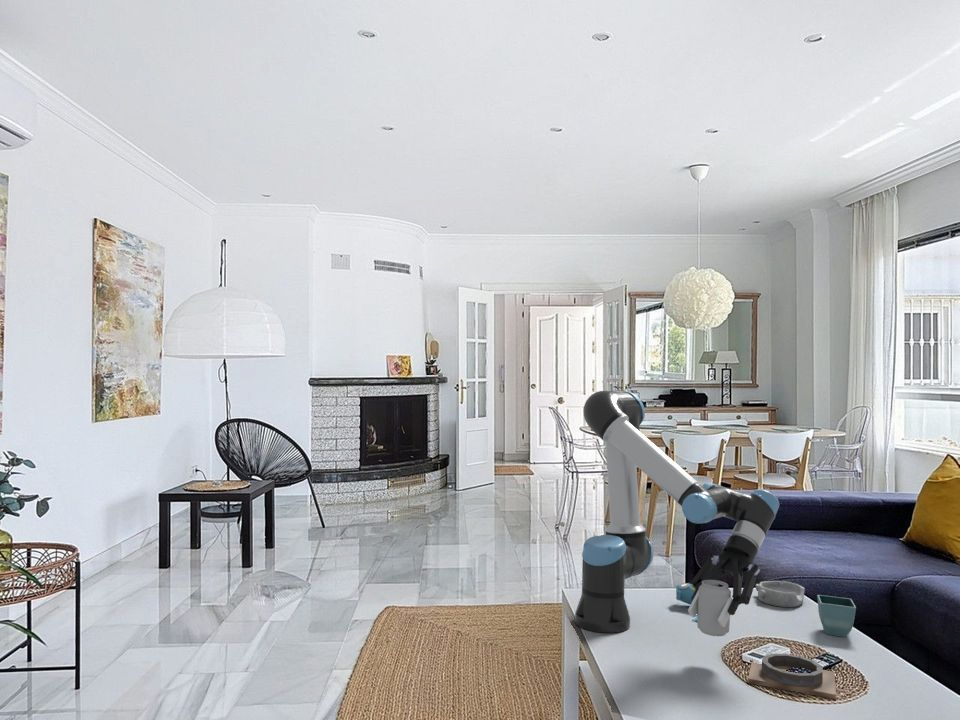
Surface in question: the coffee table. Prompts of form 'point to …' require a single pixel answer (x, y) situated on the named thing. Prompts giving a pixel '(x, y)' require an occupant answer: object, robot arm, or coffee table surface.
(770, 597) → the dish
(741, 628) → the coffee table surface
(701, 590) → the can
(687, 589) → the blue yellow plastic figure
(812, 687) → the can holder
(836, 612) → the flower pot
